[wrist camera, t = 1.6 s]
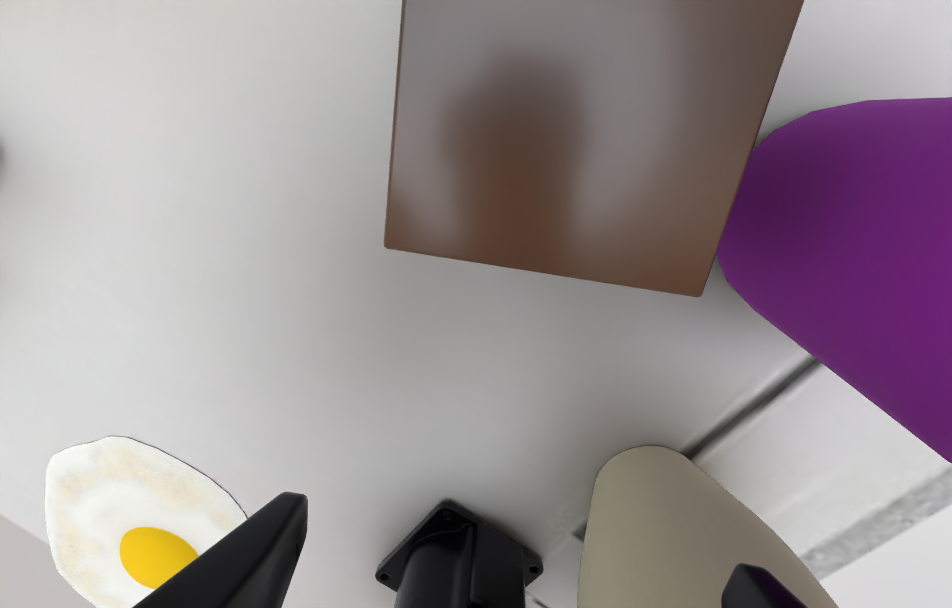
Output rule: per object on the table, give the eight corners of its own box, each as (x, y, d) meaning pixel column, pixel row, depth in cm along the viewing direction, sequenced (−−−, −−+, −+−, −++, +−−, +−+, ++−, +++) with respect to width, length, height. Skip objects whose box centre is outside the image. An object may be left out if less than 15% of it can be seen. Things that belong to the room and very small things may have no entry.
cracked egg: (272, 446, 23) (258, 466, 22) (299, 632, 28) (289, 657, 27) (1, 429, 24) (-28, 447, 22) (75, 615, 28) (54, 639, 27)
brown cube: (622, 224, 17) (702, 299, 10) (430, 193, 17) (382, 249, 10) (691, -38, 14) (869, -178, 7) (460, -75, 14) (419, -251, 7)
